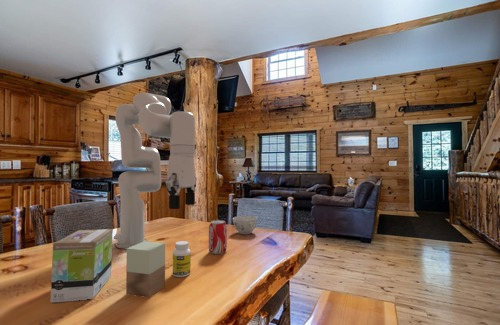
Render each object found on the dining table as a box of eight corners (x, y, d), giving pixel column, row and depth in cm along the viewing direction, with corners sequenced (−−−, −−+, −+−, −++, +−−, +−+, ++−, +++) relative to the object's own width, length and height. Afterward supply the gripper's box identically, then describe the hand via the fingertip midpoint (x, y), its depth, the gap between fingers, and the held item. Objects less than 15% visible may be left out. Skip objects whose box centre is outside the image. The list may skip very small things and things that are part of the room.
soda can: (223, 255, 100) (223, 223, 100) (205, 254, 102) (206, 223, 102) (228, 250, 107) (229, 220, 107) (212, 248, 108) (212, 219, 109)
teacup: (229, 231, 138) (229, 216, 138) (251, 229, 143) (251, 214, 143) (239, 238, 124) (239, 221, 124) (263, 236, 129) (263, 219, 129)
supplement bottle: (174, 279, 79) (174, 246, 79) (171, 272, 84) (171, 241, 84) (192, 275, 82) (192, 243, 82) (188, 269, 86) (188, 239, 87)
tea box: (94, 300, 67) (95, 240, 67) (49, 304, 65) (50, 243, 65) (112, 276, 81) (113, 227, 82) (75, 278, 79) (76, 229, 80)
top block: (126, 271, 70) (126, 248, 70) (143, 262, 76) (143, 241, 77) (149, 274, 68) (149, 250, 68) (165, 264, 75) (165, 243, 75)
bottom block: (126, 294, 70) (126, 271, 70) (143, 283, 76) (143, 262, 76) (149, 297, 68) (149, 274, 68) (164, 286, 75) (165, 264, 75)
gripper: (185, 153, 93) (185, 203, 92) (155, 150, 76) (155, 210, 75) (205, 153, 91) (205, 203, 90) (179, 149, 74) (179, 211, 74)
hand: (182, 206), depth 83 cm, fingers open, 9 cm apart
